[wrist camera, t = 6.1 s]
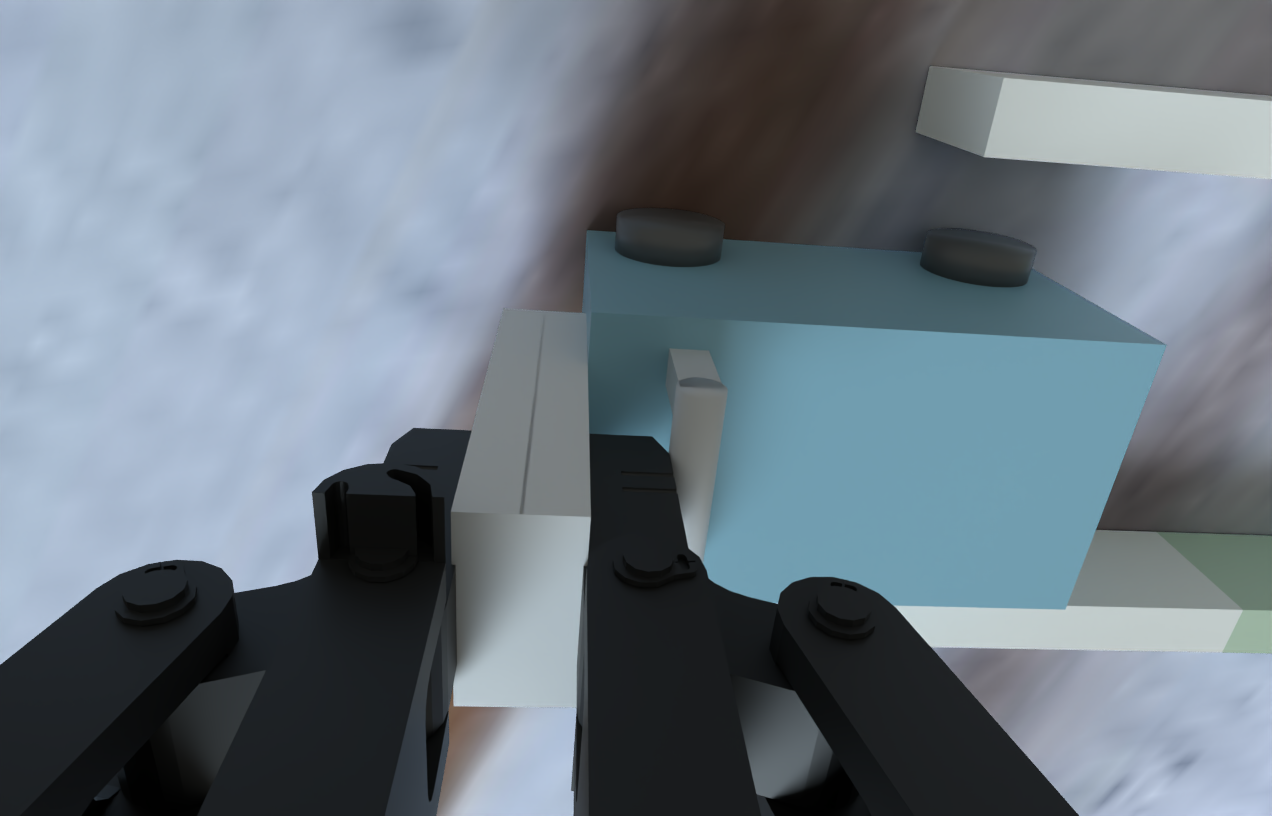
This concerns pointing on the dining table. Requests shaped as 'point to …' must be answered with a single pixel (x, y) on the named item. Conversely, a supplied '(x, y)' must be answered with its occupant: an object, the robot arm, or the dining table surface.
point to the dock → (1116, 560)
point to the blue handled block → (866, 406)
